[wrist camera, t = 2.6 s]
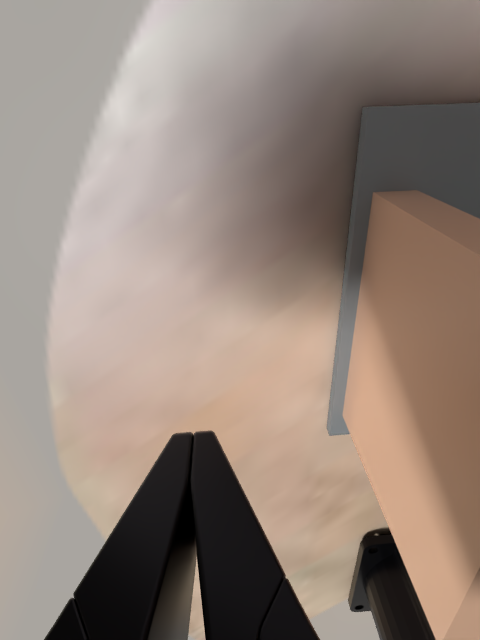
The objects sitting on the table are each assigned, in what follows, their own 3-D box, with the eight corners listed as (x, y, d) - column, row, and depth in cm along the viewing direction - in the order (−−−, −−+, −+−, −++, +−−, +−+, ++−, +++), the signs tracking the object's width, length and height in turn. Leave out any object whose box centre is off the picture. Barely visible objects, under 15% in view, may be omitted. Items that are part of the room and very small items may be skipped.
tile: (378, 412, 14) (499, 641, 8) (342, 415, 14) (439, 648, 8) (422, 190, 10) (716, 320, 4) (372, 192, 10) (601, 328, 4)
